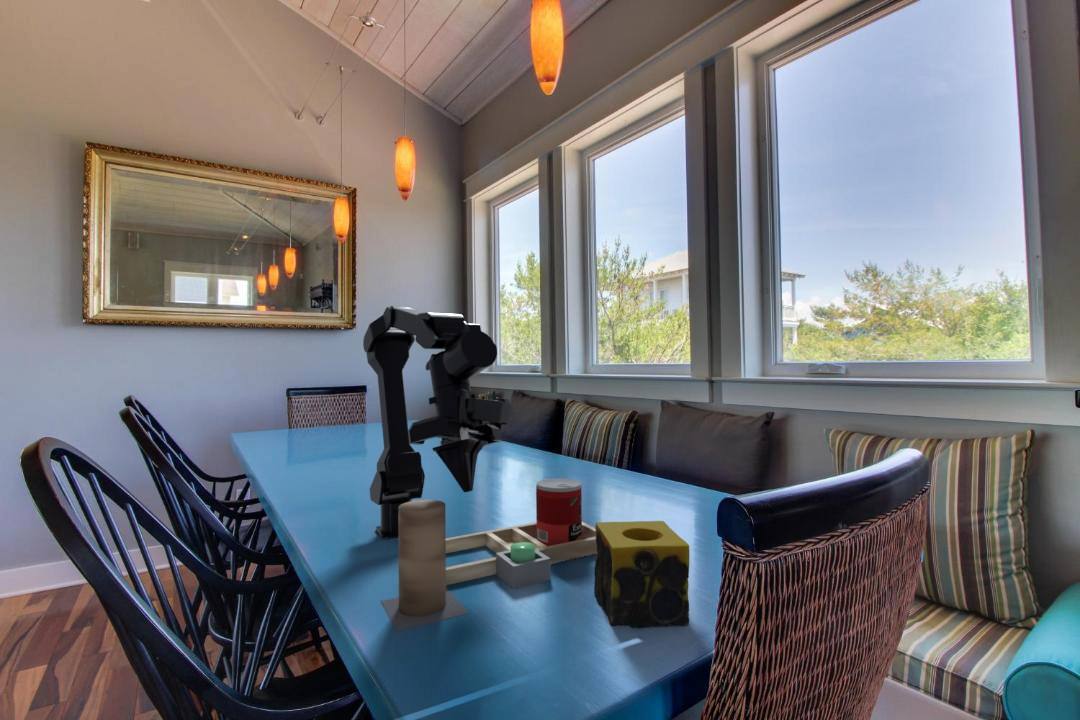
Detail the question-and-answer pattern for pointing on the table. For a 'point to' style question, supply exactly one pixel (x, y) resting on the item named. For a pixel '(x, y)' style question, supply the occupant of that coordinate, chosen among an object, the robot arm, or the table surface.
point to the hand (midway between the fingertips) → (468, 491)
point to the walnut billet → (422, 557)
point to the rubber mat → (407, 622)
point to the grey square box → (523, 569)
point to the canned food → (558, 511)
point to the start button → (522, 552)
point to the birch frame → (503, 541)
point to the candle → (641, 574)
